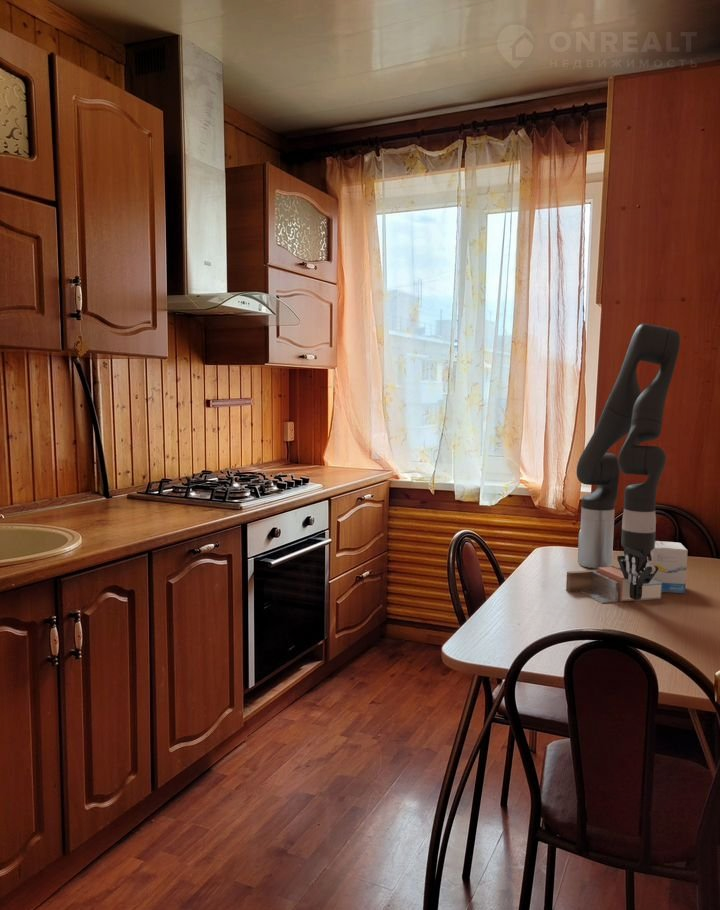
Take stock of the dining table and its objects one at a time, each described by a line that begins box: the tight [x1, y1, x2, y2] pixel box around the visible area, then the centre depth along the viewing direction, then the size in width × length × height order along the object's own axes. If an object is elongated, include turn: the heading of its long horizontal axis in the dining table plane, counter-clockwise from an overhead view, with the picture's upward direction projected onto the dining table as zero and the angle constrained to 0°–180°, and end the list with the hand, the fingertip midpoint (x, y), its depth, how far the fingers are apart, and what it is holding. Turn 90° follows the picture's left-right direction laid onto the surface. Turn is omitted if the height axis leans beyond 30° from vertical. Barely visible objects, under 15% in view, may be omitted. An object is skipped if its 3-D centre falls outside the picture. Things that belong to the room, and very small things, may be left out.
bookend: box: [579, 572, 619, 604], centre depth 176 cm, size 10×4×5 cm, turn 15°
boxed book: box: [597, 566, 635, 602], centre depth 177 cm, size 10×4×6 cm, turn 15°
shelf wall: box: [565, 567, 622, 593], centre depth 183 cm, size 2×18×5 cm, turn 105°
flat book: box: [636, 579, 662, 601], centre depth 179 cm, size 10×7×4 cm
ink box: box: [651, 540, 689, 594], centre depth 184 cm, size 9×8×12 cm
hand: (635, 598), depth 170 cm, fingers closed
